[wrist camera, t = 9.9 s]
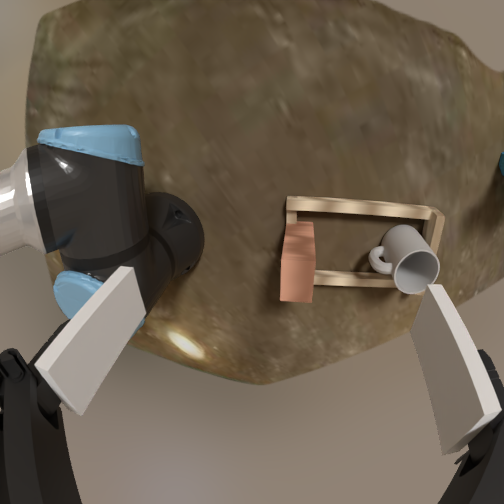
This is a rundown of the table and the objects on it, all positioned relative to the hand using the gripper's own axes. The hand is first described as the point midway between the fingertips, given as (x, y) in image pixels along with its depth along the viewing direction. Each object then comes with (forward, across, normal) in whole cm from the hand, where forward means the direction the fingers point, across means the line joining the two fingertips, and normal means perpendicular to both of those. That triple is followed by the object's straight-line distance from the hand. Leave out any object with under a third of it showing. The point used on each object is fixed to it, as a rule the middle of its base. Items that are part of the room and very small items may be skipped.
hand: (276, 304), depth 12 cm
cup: (+32, +16, -12) cm, 38 cm away
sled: (+32, +11, -12) cm, 36 cm away
